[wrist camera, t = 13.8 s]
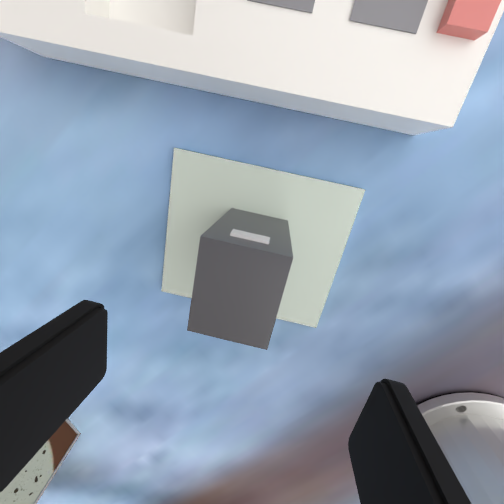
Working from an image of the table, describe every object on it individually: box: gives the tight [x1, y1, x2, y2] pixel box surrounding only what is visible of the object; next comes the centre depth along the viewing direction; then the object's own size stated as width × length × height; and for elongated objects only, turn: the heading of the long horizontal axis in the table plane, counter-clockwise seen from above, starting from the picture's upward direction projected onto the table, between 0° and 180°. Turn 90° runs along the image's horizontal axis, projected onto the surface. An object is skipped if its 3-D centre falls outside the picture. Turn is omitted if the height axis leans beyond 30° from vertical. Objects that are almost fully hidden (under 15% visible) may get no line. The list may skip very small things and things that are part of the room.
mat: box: [161, 148, 365, 328], centre depth 20 cm, size 14×12×1 cm
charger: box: [187, 208, 293, 350], centre depth 16 cm, size 4×6×8 cm
